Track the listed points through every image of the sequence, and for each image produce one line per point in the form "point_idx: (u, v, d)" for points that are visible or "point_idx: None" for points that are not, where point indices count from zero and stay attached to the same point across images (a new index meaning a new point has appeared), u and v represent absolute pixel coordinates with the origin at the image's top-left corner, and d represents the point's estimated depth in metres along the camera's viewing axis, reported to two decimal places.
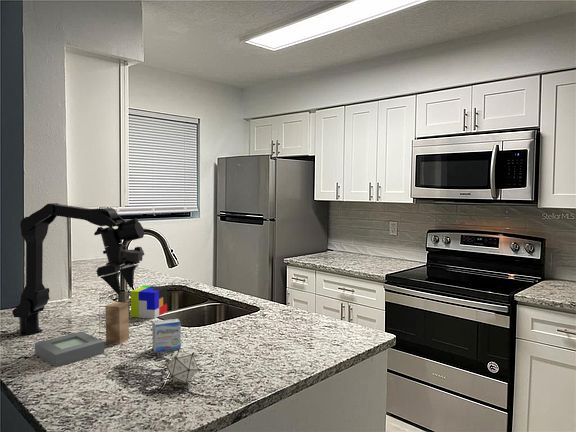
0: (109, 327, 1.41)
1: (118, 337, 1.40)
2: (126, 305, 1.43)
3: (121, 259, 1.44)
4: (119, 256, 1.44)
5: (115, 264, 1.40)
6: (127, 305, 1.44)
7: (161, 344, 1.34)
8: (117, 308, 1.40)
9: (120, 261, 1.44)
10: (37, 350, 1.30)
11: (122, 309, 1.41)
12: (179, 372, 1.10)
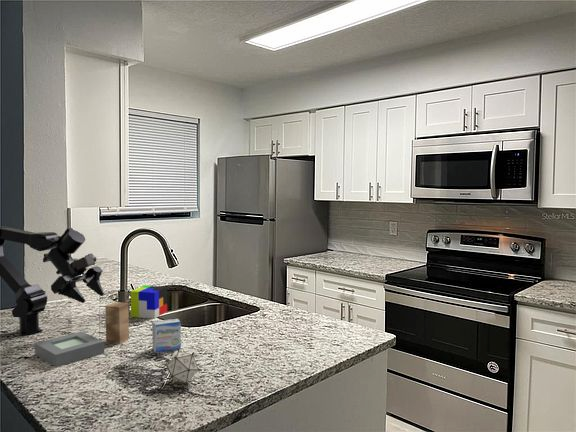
0: (109, 327, 1.41)
1: (118, 337, 1.40)
2: (126, 305, 1.43)
3: (73, 270, 1.42)
4: (70, 268, 1.42)
5: (65, 275, 1.38)
6: (127, 305, 1.44)
7: (161, 344, 1.34)
8: (117, 308, 1.40)
9: (73, 272, 1.42)
10: (37, 350, 1.30)
11: (121, 309, 1.41)
12: (179, 372, 1.10)
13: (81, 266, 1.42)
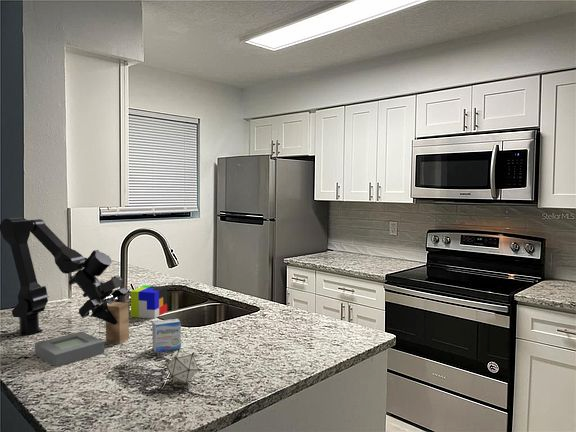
0: (109, 327, 1.41)
1: (118, 337, 1.40)
2: (126, 305, 1.43)
3: (100, 293, 1.40)
4: (97, 291, 1.41)
5: (93, 299, 1.36)
6: (127, 305, 1.44)
7: (161, 344, 1.34)
8: (117, 308, 1.40)
9: (100, 295, 1.40)
10: (37, 350, 1.30)
11: (121, 309, 1.41)
12: (179, 372, 1.10)
13: (108, 289, 1.40)
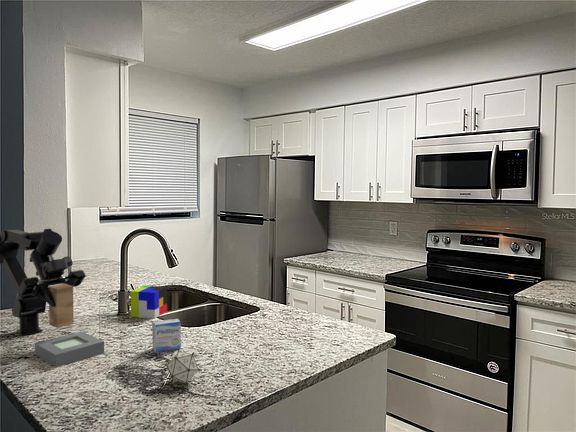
0: (51, 309, 1.36)
1: (56, 320, 1.35)
2: (69, 288, 1.37)
3: (44, 273, 1.37)
4: (42, 271, 1.37)
5: (31, 278, 1.33)
6: (71, 288, 1.37)
7: (161, 344, 1.34)
8: (55, 290, 1.34)
9: (44, 275, 1.37)
10: (37, 350, 1.30)
11: (61, 292, 1.35)
12: (179, 372, 1.10)
13: (50, 269, 1.35)
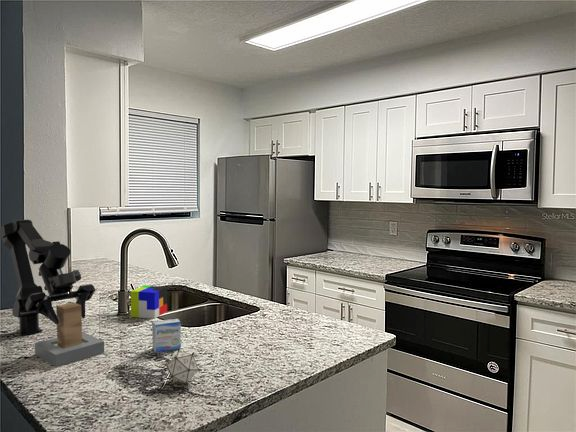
0: (58, 329, 1.30)
1: (64, 341, 1.29)
2: (77, 307, 1.31)
3: (52, 287, 1.31)
4: (50, 285, 1.32)
5: (38, 293, 1.28)
6: (79, 307, 1.31)
7: (161, 344, 1.34)
8: (63, 310, 1.28)
9: (52, 290, 1.31)
10: (37, 350, 1.30)
11: (69, 311, 1.29)
12: (179, 372, 1.10)
13: (58, 284, 1.30)
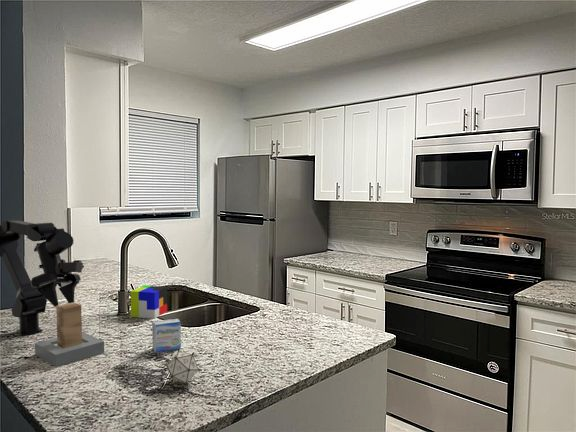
0: (58, 329, 1.30)
1: (64, 341, 1.29)
2: (77, 307, 1.31)
3: (58, 270, 1.39)
4: (56, 267, 1.39)
5: (51, 273, 1.35)
6: (79, 307, 1.31)
7: (161, 344, 1.34)
8: (63, 310, 1.28)
9: (57, 272, 1.39)
10: (37, 350, 1.30)
11: (69, 311, 1.29)
12: (179, 372, 1.10)
13: (69, 270, 1.39)
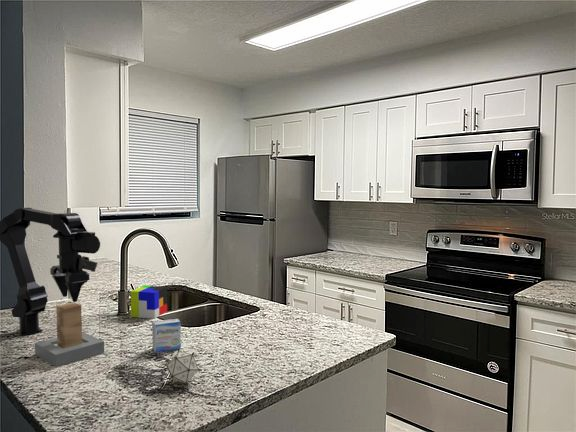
0: (58, 329, 1.30)
1: (64, 341, 1.29)
2: (77, 307, 1.31)
3: (81, 267, 1.44)
4: (80, 264, 1.44)
5: None
6: (79, 307, 1.31)
7: (161, 344, 1.34)
8: (63, 310, 1.28)
9: (80, 269, 1.44)
10: (37, 350, 1.30)
11: (69, 311, 1.29)
12: (179, 372, 1.10)
13: (90, 269, 1.46)
